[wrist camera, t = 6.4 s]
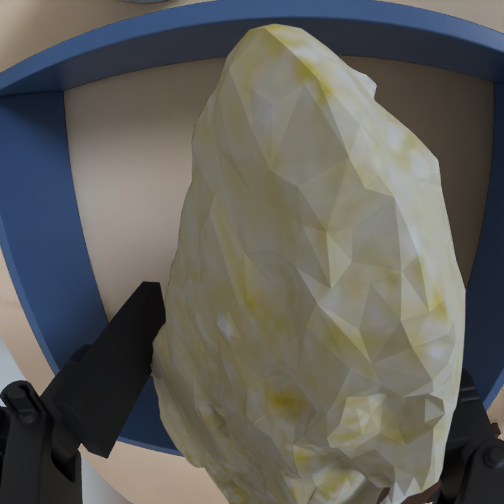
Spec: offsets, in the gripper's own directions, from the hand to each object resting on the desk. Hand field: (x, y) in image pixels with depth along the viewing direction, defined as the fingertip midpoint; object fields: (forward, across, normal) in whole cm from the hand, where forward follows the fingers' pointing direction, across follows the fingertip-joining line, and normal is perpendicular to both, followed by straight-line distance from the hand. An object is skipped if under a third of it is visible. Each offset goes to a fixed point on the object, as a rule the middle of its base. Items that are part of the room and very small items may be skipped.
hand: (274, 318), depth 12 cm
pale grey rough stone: (+1, -1, 0) cm, 1 cm away
